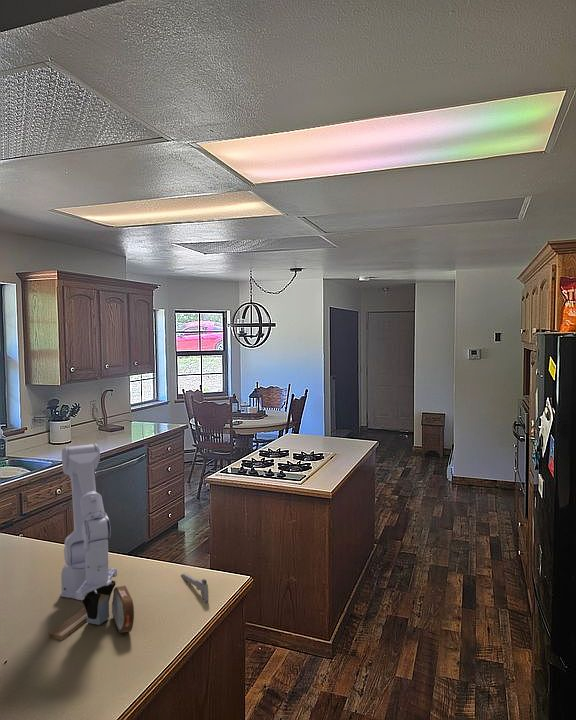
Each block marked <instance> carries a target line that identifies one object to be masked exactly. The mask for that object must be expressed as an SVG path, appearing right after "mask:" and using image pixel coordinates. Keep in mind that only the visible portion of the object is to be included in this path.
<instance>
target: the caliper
mask: <svg viewBox="0 0 576 720" xmlns="http://www.w3.org/2000/svg"><path fill="white" fill-rule="evenodd" d="M180 577H182V579H184V581H186V582H188V583H189V584H191V585H193V586H194V587H196V590H197V591H200V595H201V600H202V601H204V603H207V602H209V585H208V582H207V579H205V578H203V579H199V578H198V579H197V578H195V577H193V576H192V575H190V574H187V573H186V572H183V573H182V574H181V575H180Z"/></svg>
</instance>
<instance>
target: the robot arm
mask: <svg viewBox="0 0 576 720" xmlns="http://www.w3.org/2000/svg"><path fill="white" fill-rule="evenodd" d="M100 459H101V452H100V446H99V445H98V444H97V443H96V442H95V443H90V444H83V445H72V446H71V445H70V446H64V447H63V448H62V450H61V460H62V461H61V462H62V463H61V465H62V466H61V467H62V471H63V475H67V476H69V478H70V482H71V495H72V496H71V500H72V515H73V517H72V519H73V531H72V532H71V533H70V534H68V536H67V537H66V538H65V539H64V549H63V555H64V563H65V565H63V567H62V570H61V573H60V574H61V579H60V580H61V593H60V594H59V597H63V598H69V599H74V600H77V601H78V600H79V601H81V603H82V604H83V606H84V607H85V609H86V612H87V615H88V618H90V619H96V617H97V608H98V602H99V598H100V596H101V594H104V595H109V601H110V600H111V596H112V593H113V592H114V589H115V586H116V580H112V578H116V577H118V569H117V568H112V567H111V568H109V539H110V538H111V534H112V533H111V532H112V530H111V521H110V519H109V517H108V514H107V512H105V508H104V507H105V506H104V502H103V497H102V495H101V494H100V493H99V492H97V486H96V477H95V474H96V473H95V470H97V468H98V465H99V463H100V462H101V461H100ZM96 593H98V594H96Z"/></svg>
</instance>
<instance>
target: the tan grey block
mask: <svg viewBox="0 0 576 720" xmlns="http://www.w3.org/2000/svg"><path fill="white" fill-rule="evenodd" d="M96 594H98V593H96ZM109 618H110V600H109V595H104V594H101V596H100V598H99V602H98V608H97V617H96V619H90V618H88V615H87V621H86V623H88V624H92V625H93V624H94V625H102V624H103V622H105V621H106V620H107V619H109Z"/></svg>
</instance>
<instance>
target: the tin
mask: <svg viewBox="0 0 576 720" xmlns="http://www.w3.org/2000/svg"><path fill="white" fill-rule="evenodd" d="M112 593H113V595H112V602H111V613H112V618H113V621H114V623H115V625H116V628H117V631H118V632H119V633H120V634H121V633H131V631H132V630H133V627H134V620H135V607H134V602H133V601H134V600H133V598H132V595H131V594H130V591H129V589H128V588H127V585H122V586H116V587H114V588H113V591H112Z"/></svg>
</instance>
